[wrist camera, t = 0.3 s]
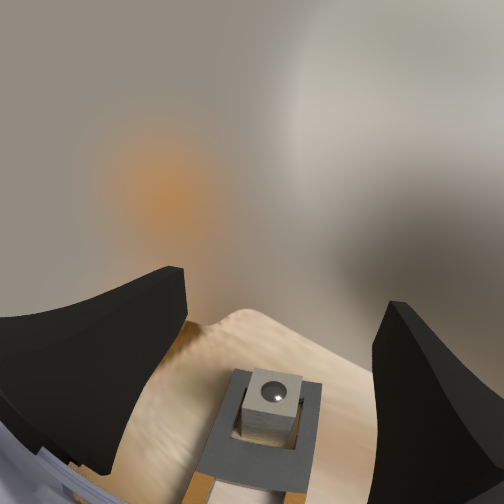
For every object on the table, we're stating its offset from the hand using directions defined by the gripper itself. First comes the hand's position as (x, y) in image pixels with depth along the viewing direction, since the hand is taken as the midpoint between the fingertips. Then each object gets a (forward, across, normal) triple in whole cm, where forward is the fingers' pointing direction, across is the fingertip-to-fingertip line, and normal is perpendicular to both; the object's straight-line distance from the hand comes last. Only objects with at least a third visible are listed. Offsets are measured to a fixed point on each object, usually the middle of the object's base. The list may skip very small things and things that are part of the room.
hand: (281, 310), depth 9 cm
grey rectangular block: (+7, 0, +21) cm, 22 cm away
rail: (+1, 0, +21) cm, 21 cm away
